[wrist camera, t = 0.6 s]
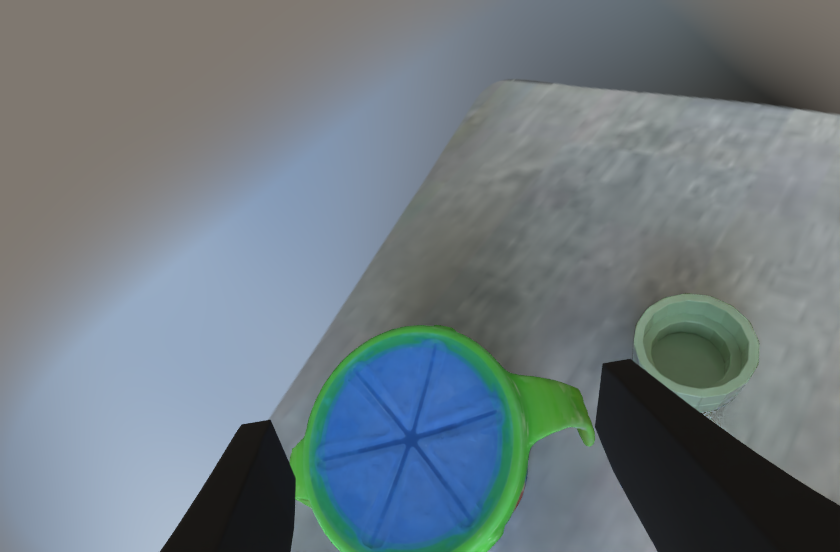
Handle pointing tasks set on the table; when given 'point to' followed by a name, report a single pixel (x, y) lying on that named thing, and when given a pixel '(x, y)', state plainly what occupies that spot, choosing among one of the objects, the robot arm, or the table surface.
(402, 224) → the table surface
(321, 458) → the snack cup
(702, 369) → the bowl
